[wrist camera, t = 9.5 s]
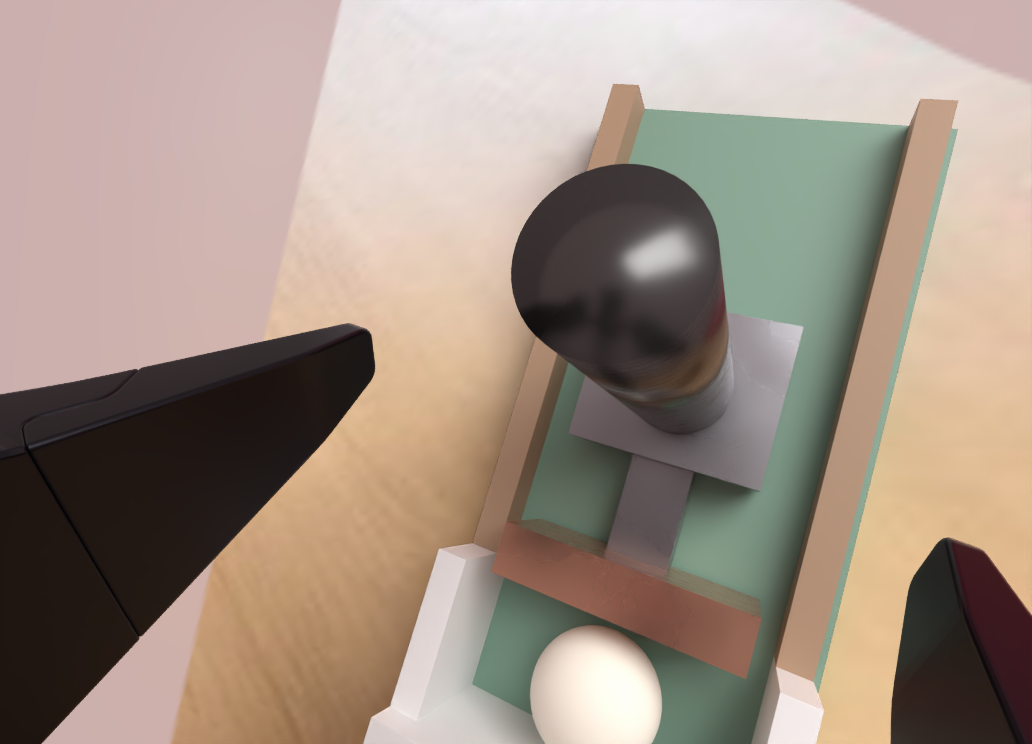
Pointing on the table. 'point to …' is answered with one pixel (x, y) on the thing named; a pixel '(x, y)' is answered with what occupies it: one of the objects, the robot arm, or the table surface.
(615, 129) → the pitch
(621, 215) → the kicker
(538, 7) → the table surface
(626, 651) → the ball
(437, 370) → the table surface
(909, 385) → the table surface
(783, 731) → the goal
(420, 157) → the table surface
